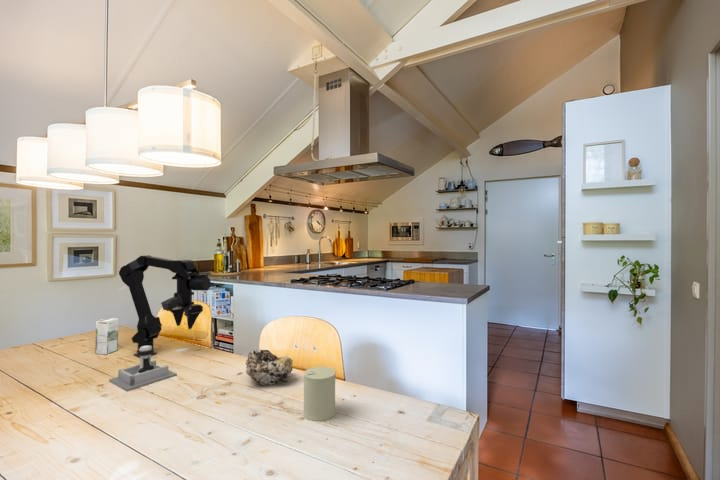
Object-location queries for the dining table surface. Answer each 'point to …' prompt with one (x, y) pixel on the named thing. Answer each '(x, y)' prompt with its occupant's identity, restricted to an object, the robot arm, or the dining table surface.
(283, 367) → the mineral specimen
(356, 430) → the dining table surface
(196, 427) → the dining table surface
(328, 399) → the can
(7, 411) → the dining table surface
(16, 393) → the dining table surface
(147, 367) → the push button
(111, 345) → the syrup box
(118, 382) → the dock
